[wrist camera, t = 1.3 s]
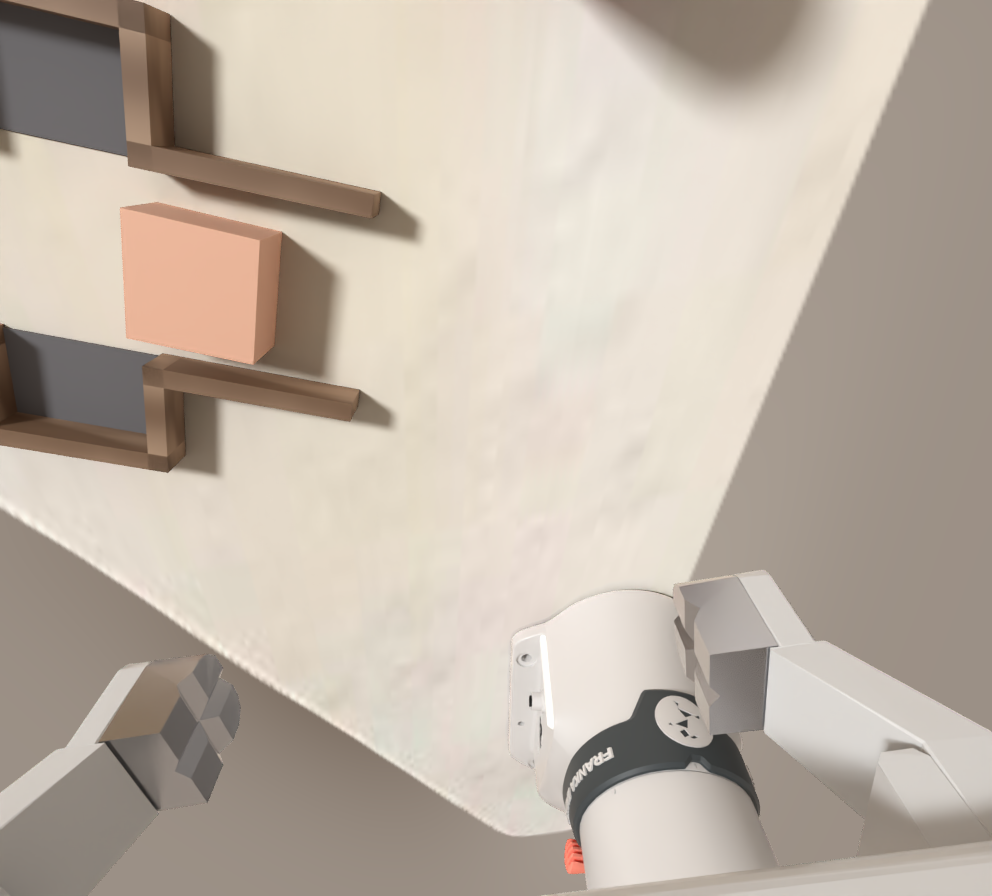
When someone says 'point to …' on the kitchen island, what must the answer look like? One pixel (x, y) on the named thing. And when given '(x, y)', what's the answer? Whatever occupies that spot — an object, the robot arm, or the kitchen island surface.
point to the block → (199, 281)
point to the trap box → (150, 146)
